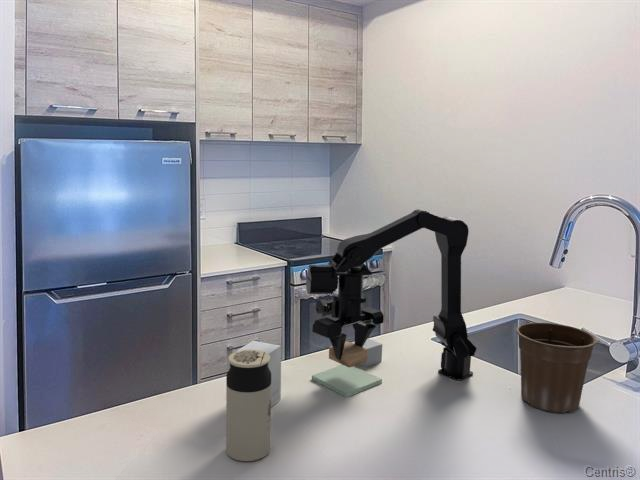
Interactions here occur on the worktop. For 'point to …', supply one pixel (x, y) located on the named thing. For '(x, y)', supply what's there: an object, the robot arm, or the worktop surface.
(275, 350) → the supplement box
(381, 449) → the worktop surface
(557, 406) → the plant pot
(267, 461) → the worktop surface
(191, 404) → the worktop surface
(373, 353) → the slate block
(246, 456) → the travel mug
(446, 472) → the worktop surface
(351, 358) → the walnut block
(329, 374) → the baseplate
